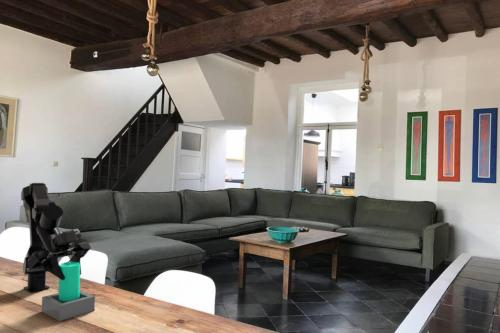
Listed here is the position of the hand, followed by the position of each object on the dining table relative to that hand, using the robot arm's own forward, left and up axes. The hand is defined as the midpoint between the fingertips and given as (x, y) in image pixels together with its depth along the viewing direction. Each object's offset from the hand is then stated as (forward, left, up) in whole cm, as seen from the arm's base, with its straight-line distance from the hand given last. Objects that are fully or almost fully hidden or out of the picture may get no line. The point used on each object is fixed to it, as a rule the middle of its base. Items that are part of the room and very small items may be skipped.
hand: (72, 277), depth 119 cm
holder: (-1, 0, -11) cm, 11 cm away
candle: (-1, 0, -7) cm, 7 cm away
